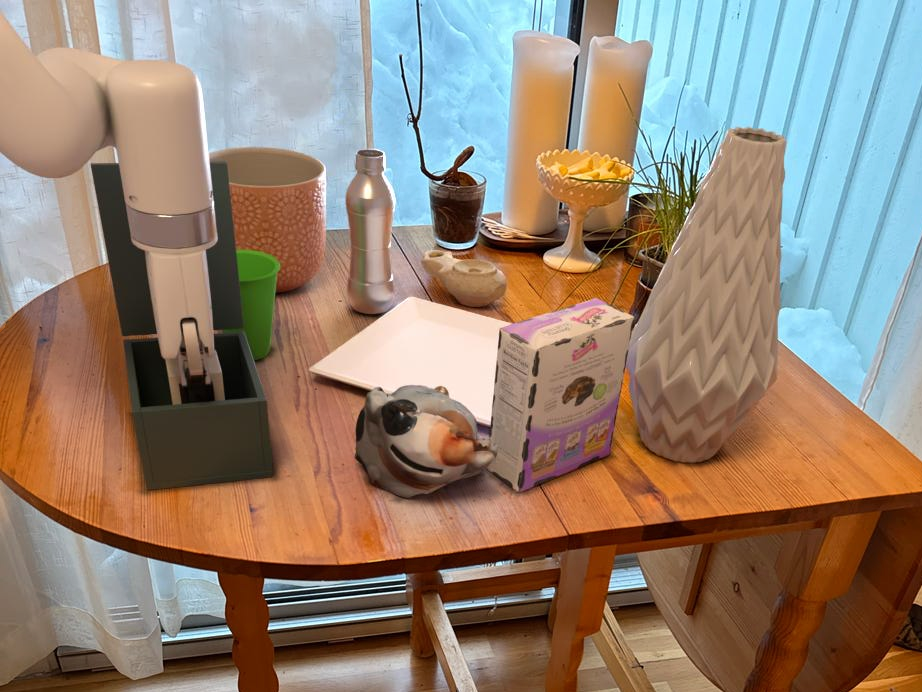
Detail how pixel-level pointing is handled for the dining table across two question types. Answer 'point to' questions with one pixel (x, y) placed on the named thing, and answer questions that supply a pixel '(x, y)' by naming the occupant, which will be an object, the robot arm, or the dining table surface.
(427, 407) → the lucky cat figurine
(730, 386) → the vase
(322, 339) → the dining table surface
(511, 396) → the candy box
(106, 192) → the lid
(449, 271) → the oil lamp
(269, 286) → the cup
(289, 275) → the planter
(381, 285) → the silver metal bottle
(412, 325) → the plate
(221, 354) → the chest
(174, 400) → the block
